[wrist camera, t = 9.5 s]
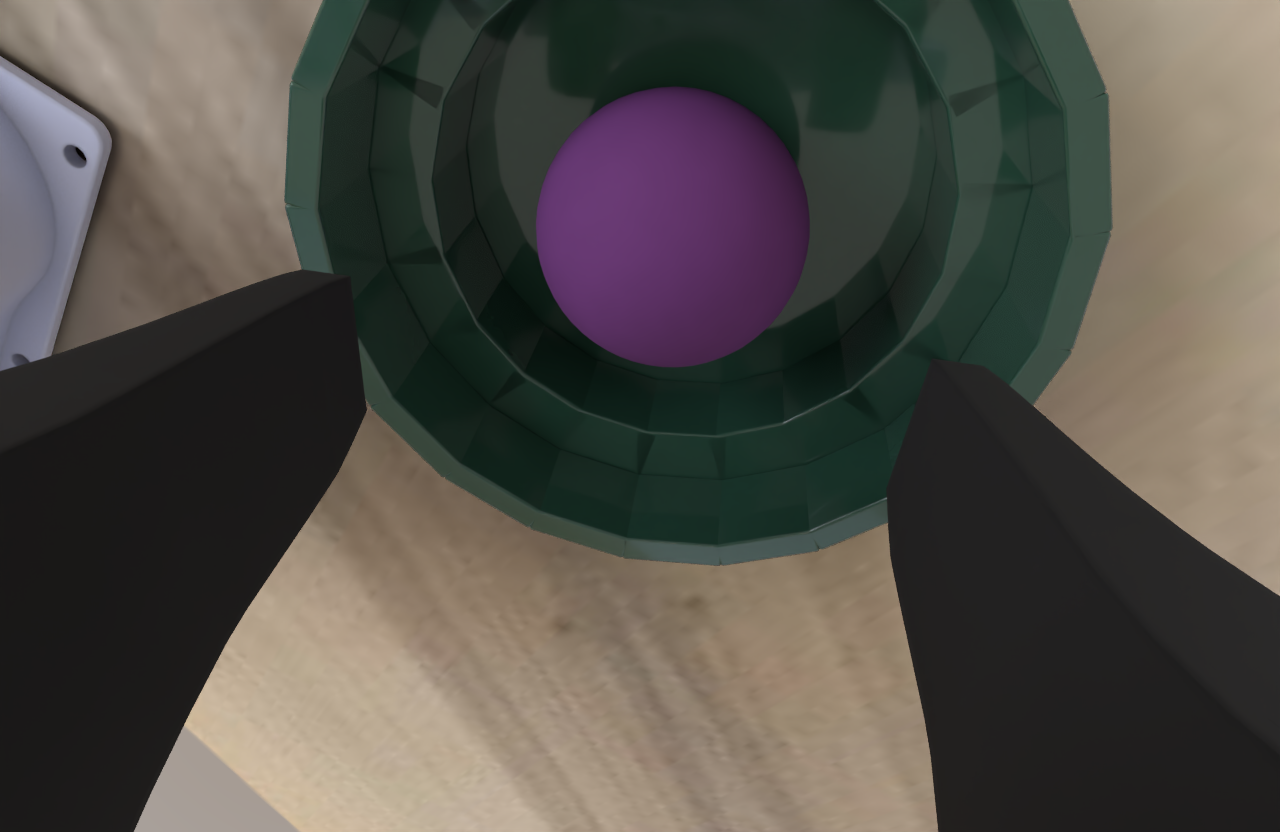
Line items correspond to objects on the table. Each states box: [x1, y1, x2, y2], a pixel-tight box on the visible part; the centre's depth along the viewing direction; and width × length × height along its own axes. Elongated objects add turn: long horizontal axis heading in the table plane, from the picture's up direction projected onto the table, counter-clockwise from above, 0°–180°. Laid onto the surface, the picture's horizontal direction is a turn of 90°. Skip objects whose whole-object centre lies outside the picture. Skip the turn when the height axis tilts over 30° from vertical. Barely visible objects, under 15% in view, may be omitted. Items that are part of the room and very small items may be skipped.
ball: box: [536, 87, 810, 367], centre depth 15 cm, size 5×5×5 cm
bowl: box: [284, 0, 1113, 566], centre depth 16 cm, size 13×13×5 cm
